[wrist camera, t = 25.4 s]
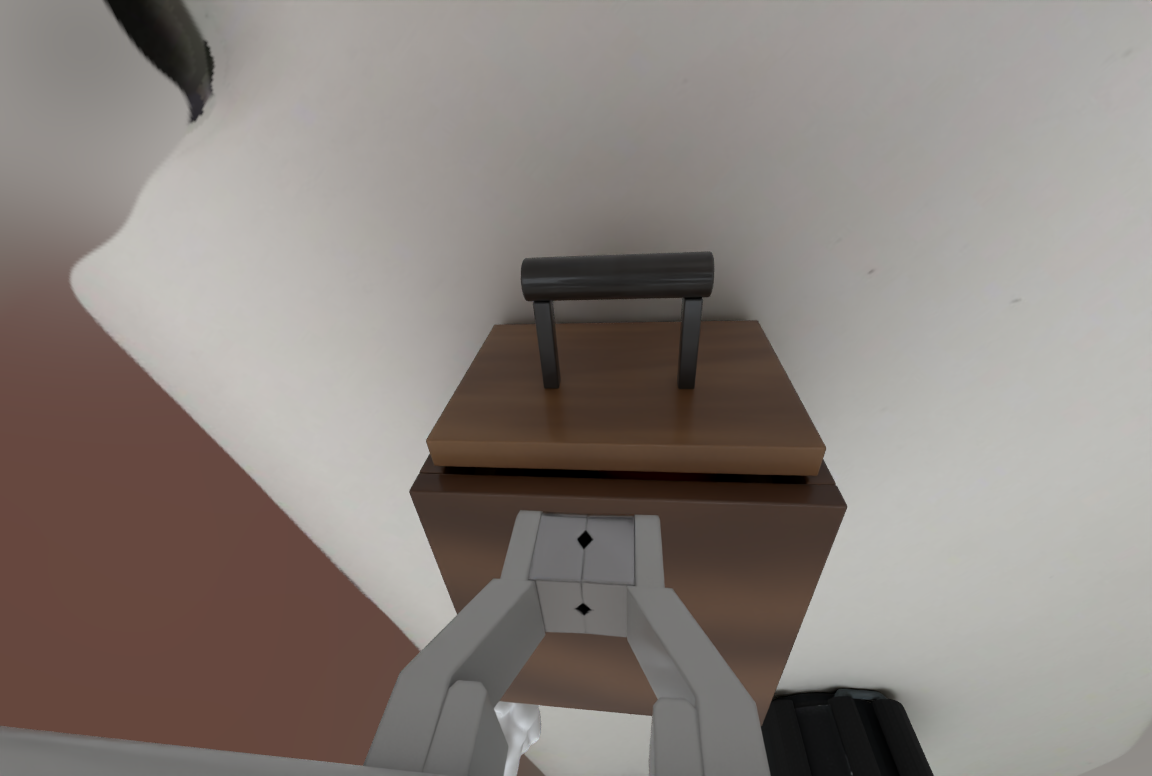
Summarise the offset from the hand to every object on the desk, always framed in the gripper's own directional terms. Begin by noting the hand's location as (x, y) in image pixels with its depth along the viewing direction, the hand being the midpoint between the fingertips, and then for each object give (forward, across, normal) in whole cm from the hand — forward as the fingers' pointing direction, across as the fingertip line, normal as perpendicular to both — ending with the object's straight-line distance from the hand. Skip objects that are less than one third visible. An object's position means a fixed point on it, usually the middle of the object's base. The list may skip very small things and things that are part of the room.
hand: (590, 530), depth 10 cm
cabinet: (+14, 0, +11) cm, 18 cm away
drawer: (+13, 0, +6) cm, 15 cm away
